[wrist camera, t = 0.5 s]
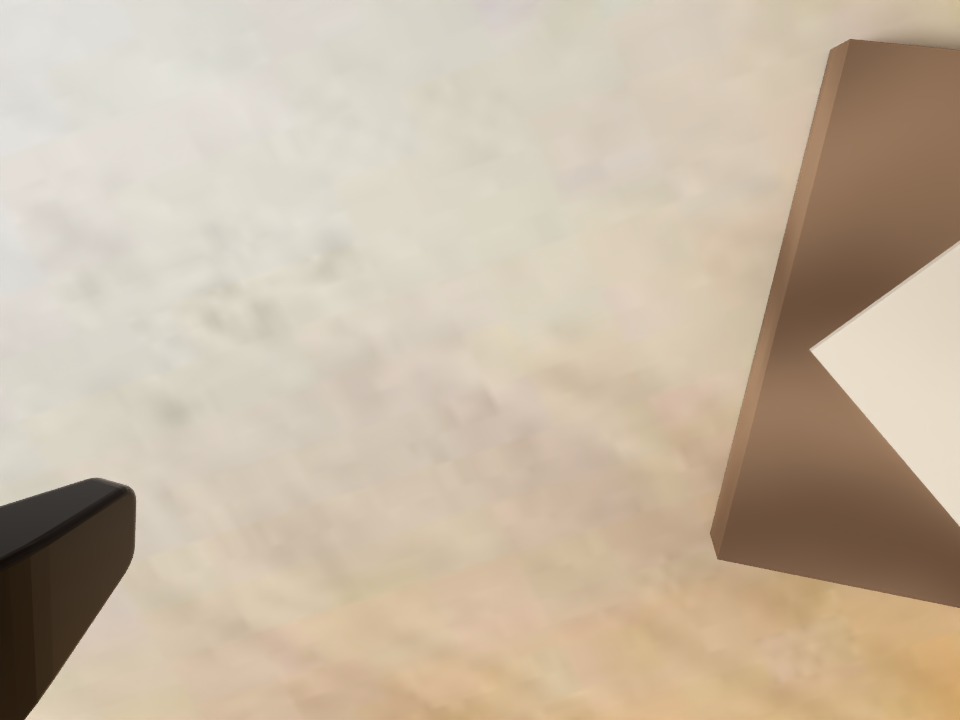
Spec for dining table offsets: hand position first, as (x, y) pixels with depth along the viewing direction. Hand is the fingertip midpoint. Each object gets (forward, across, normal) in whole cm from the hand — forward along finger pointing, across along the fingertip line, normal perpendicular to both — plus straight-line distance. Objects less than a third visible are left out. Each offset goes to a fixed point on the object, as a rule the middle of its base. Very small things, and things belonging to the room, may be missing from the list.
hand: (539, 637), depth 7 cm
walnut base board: (+14, -12, -1) cm, 18 cm away
